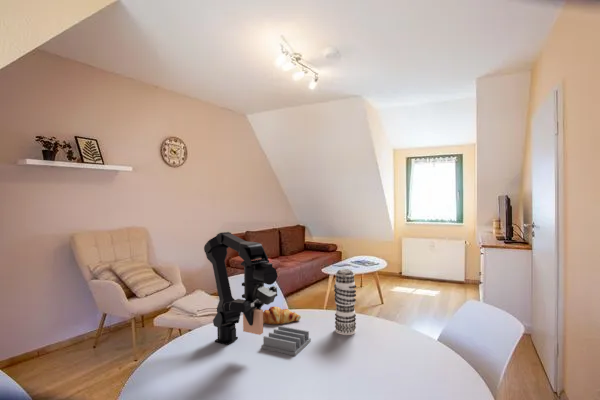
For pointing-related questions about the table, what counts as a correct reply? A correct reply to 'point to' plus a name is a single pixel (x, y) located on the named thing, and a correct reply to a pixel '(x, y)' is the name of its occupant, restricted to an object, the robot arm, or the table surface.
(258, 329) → the terracotta plate
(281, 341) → the dish rack
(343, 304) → the black-white patterned cylinder
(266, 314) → the croissant
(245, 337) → the table surface
